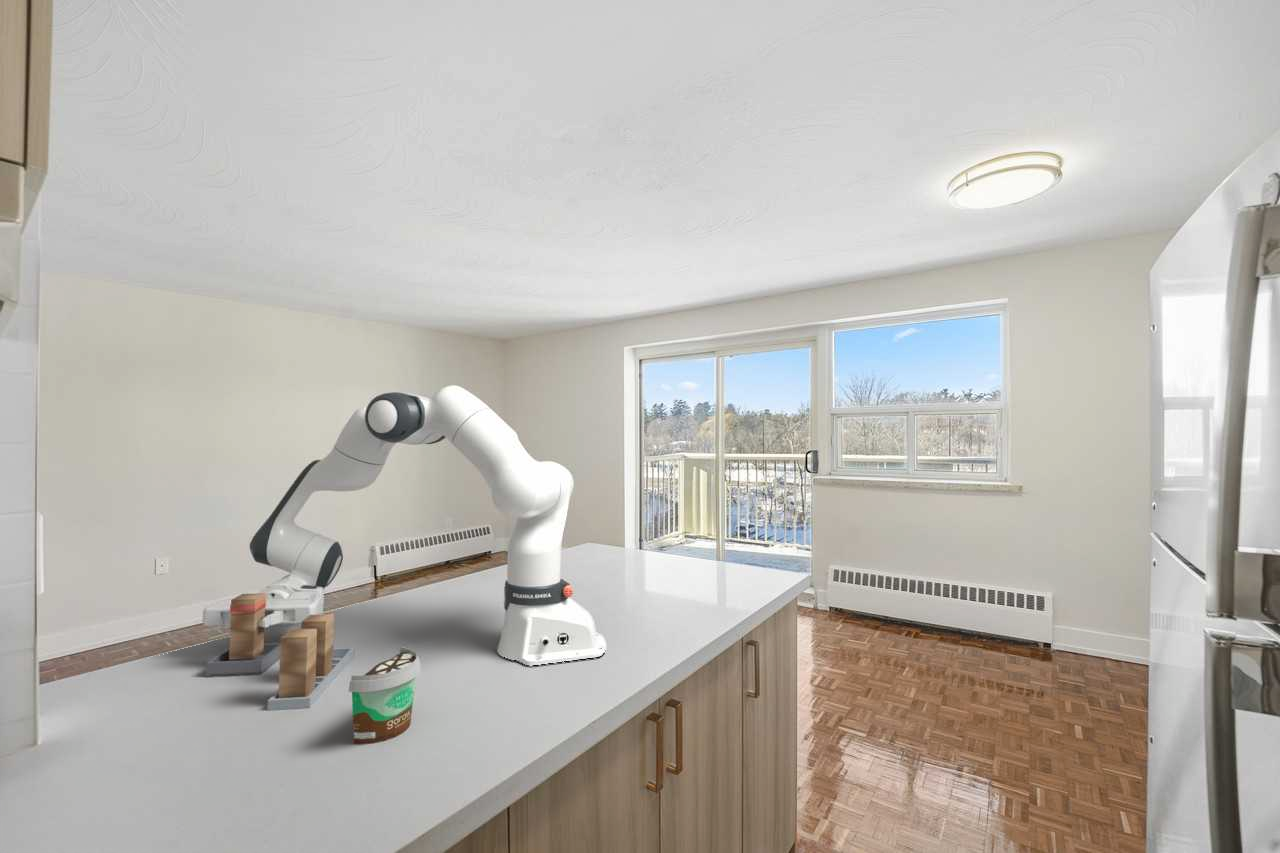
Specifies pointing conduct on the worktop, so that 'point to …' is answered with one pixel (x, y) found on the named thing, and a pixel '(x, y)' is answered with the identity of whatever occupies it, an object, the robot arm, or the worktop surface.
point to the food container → (384, 698)
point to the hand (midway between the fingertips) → (245, 624)
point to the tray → (243, 663)
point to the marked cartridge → (246, 626)
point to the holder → (320, 684)
